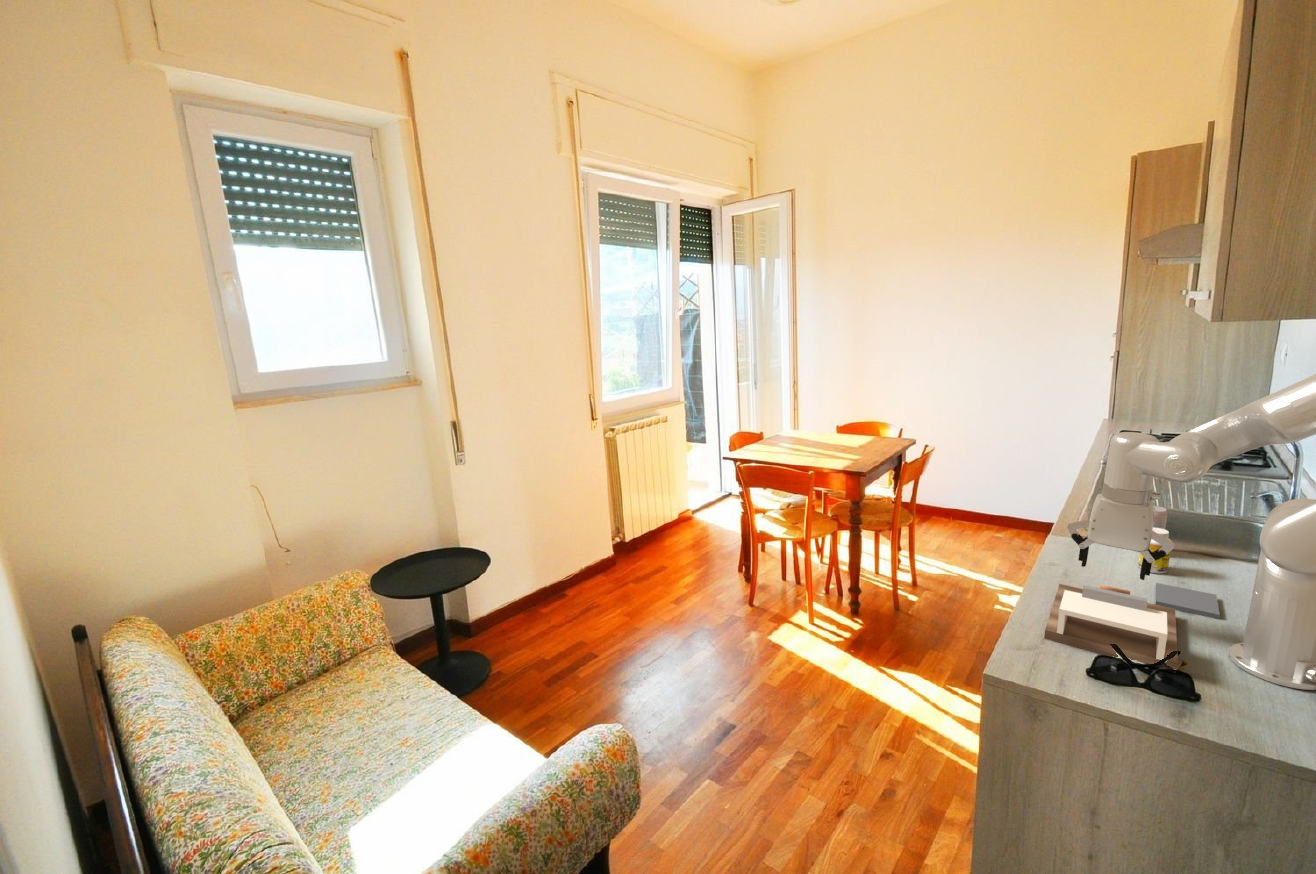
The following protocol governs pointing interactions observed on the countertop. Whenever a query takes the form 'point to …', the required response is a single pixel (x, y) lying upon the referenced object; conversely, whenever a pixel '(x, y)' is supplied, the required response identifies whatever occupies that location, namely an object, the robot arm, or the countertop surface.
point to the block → (1115, 589)
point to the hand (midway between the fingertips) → (1112, 570)
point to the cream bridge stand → (1115, 613)
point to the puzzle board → (1110, 634)
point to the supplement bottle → (1162, 563)
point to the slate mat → (1187, 600)
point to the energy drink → (1159, 517)
